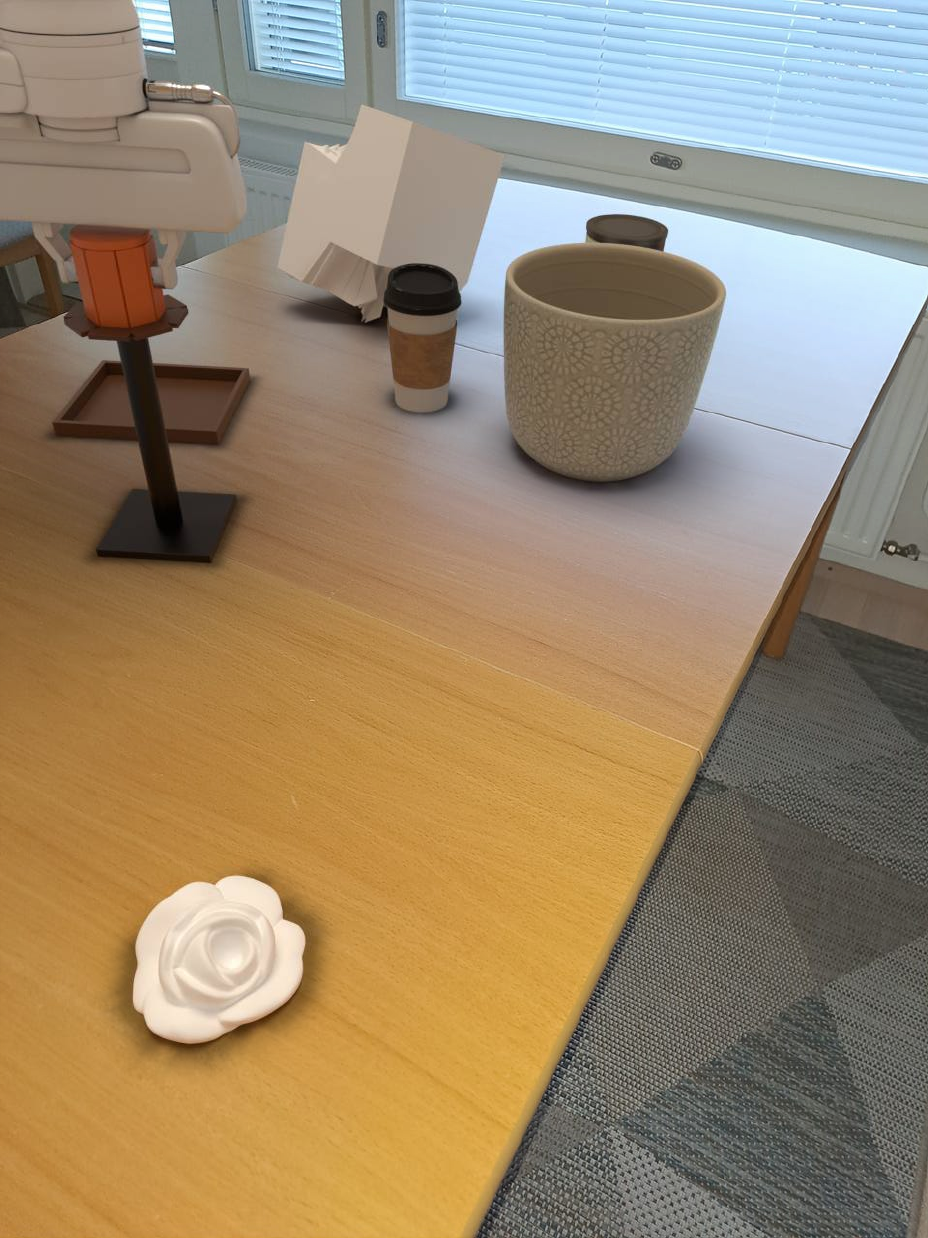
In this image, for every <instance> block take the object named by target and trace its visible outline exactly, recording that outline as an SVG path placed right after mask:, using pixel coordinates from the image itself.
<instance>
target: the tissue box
mask: <svg viewBox="0 0 928 1238" xmlns="http://www.w3.org/2000/svg"><path fill="white" fill-rule="evenodd" d="M357 114H358V115H357V118H356V121H355V124H354V128H353V130H352V133H351V135H350V137H349V140H348V141H347V143H345V144H344V145H341V144H340V143H337V144H335V145H332V146H329V145H328V144H325V145H317V144H314V143H311V142H308V141H304V142H303V143H304V144H303V147H302V153H301V157H300V162H299V166H298V171H297V176H296V180H295V185H294V189H293V194H292V198H291V203H290V207H289V212H288V216H287V220H286V221H287V222H286V225H285V230H284V235H283V239H282V243H281V249H280V253H279V258H278V262H277V265H276V266H277V269H279V270H281V271H283V272H284V273H285V275H287V276H288V277H290V278H291V279H294V280H297V281H299V282H302V283H304V284H307V285H310V286H312V287H315V288H319V289H322V290H325V291H327V292H329V293H330V294H332V295H333V296H335V297H337V298H339V299H340V300H341V301H344V302H345V303H347V304H349V305H351V306H353V307H358V309H360V310H361V311H360V313H361V314H362V317H361V320H360V323H362V322H364V323H368V322H370V321H374V320H376V319H378V318H381V315H382V311H383V309H384V308H388V307H387V306H386V305H385V304H384V302H383V299H384V292H385V290H386V289H387V281H388V275H389V272H390V271H391V270H392V269H394V268H396V267H398V266H401V265H405V264H411V263H422V264H431V265H436V266H439V267H442V268H444V269H446V270H448V271H449V272H450V273H452V274H453V275H454V276H455V277H456V279H457V282H458V291H459V292H460V293H461V291H462V290H463V289H464V287H465V286H466V285H467V284H468V283H469V282H468V281H469V279H470V276H471V272H472V269H473V265H474V261H475V258H476V255H477V251H478V249H479V245H480V242H481V238H482V235H483V231H484V229H485V228H484V227H485V225H486V220H487V218H488V214H489V211H490V208H491V204H492V201H493V197H494V193H495V190H496V187H497V183H498V180H499V177H500V173H501V170H502V167H503V164H504V160H505V156H506V154H503V153H500V152H498V151H495V150H492V149H489V148H487V147H484V146H481V145H479V144H476V143H473V142H470V141H467V140H464V139H462V138H459V137H457V136H453V135H451V134H448V133H445V132H443V131H439V130H437V129H435V128H431V127H430V126H429V127H428V126H426V125H424V124H421V123H417V122H414V121H412V120H409V119H406V118H403V117H401V116H397V115H394V114H391V113H388V112H386V111H383V110H379V109H377V108H374V107H371V106H367V105H366V104H361V105H360V108H359V111H358V113H357ZM340 145H341V146H340Z"/></svg>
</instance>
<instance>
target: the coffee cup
mask: <svg viewBox="0 0 928 1238" xmlns="http://www.w3.org/2000/svg"><path fill="white" fill-rule="evenodd" d="M383 302H384V304H385V305H386V306H387V307H386V308H387V316H388V317H387V319H386V326H387V334H388V343H389V352H390V362H391V372H392V378H393V389H394V399H395V400H394V401H395V404H396V406H398V407H399V408H401V409H403V410H405V411H408V412H411V413H421V414H422V413H423V414H424V413H433V412H436V411H439V410H442V409H444V408H445V407H446V405H447V404H448V401H449V400H448V399H449V389H450V380H451V377H452V376H451V375H452V368H453V362H454V361H453V360H454V353H455V347H456V346H455V345H456V339H457V332H458V331H457V330H458V324H459V323H458V319H457V317H458V309H459V308H461V306H462V303H463V301H462V294H461V291H460V292H459V291H458V282H457V279H456V277H455V276H454V275H453V274H452V273H450V272H449V271H448V270H446V269H444V268H442V267H439V266H436V265H431V264H422V263H411V264H405V265H401V266H398V267H396V268H394V269H392V270H391V271H390V272H389V275H388V281H387V289H386V290H385V292H384V299H383Z"/></svg>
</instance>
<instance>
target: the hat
mask: <svg viewBox="0 0 928 1238" xmlns="http://www.w3.org/2000/svg"><path fill="white" fill-rule="evenodd" d="M69 237H70V240H69V247H70V249H71V252H72V256H73V260H74V265H75V269H76V273H77V278H78V282H79V283H78V286H79V290H80V294H81V299H82V301H81V302H80V301H78V302H76V303H75V304H74V305H73V306H72V307H71V308H70V309H69V310H68V311H67V312H66V313H65V314H64V315H63V323H64V326H66V327H67V328H68V329H70V331H73V332H74V333H75V334H77V335H78V336H79V337H80V338H86V337H87V338H88V340H91V341H92V340H95V341H110V342H117V341H126V342H128V341H129V340H130V339H131V338H134V339H135V340H137V341H138V340H142V339H145V338H148V339H149V338H153V337H156V336H161V335H164V334H167V333H171V332H174V329H179V328H180V326H181V325H182V324H183V322H184V321H185V319H186V317H187V316H188V315H189V308H188V305H186V304H185V303H184V302H182V301H180V300H178V299H177V298H175V297H174V296H172V295H171V294H169V293H168V294H164V289H157V288H154V286H153V282H152V280H153V278H152V277H151V271H150V266H151V265H152V263H154V261H155V260H156V259H158V255H157V249H156V244H155V237H154V235H153V234H152V232H151V229H139V228H122V227H106V226H89V225H74V226H73V227H72V228H71V229H70V231H69Z"/></svg>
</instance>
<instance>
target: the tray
mask: <svg viewBox="0 0 928 1238" xmlns="http://www.w3.org/2000/svg"><path fill="white" fill-rule="evenodd" d="M153 366H154V372H155V377H156V382H157V387H158V392H159V398H160V403H161V408H162V413H163V418H164V424H165V429H166V434H167V439H168V443H177V444H178V443H179V444H181V443H182V444H196V445H197V444H198V445H212V446H213V445H216V446H219V445H220V443H221V441H222V439H223V437H224V435H225V433H226V430H227V429H228V427H229V424H230V423H231V421H232V419H233V417H234V415H235V413H236V410H237V409H238V407H239V404H240V402H241V400H242V398H243V396H244V395H245V392H246V390H247V388H248V386H249V385H250V382H251V375H250V368H249V367H234V366H233V367H232V366H217V365H216V366H215V365H199V364H181V363H179V364H177V363H163V362H162V363H160V362H153ZM51 424H52V426H53V430H54V433H55V437H73V438H89V439H90V438H91V439H108V440H127V441H138V438H137V434H136V429H135V424H134V420H133V415H132V410H131V406H130V401H129V396H128V392H127V387H126V383H125V378H124V373H123V369H122V364H121V360H110V359H109V360H107V359H106V360H105V359H103V360H101V361H100V362H99V364H98V365H97V366H96V367H95V369H94V370H92V373H90V375H89V376H88V377H87V378H86V380H85V381H84V382H83V383H82V384H81V386H80V387H79V388H78V390H77V391H76V392H75V393H74V395H73V396H72V397H71V398H70V399H69V400H68V402H67V404H66V405H65V406H64V407H63V408H62V409H61V411H60V412H59V413H58V414H57V416H56V417H55V418H54V420H53V421H52V423H51Z"/></svg>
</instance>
